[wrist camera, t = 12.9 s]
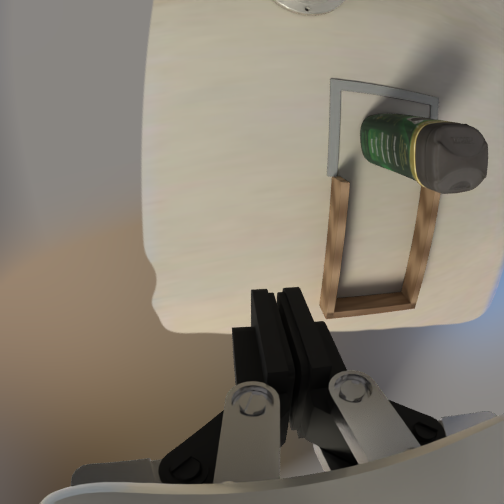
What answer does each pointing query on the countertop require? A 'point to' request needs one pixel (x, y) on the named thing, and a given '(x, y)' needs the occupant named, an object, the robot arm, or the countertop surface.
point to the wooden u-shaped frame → (334, 251)
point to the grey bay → (369, 89)
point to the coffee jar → (426, 150)
